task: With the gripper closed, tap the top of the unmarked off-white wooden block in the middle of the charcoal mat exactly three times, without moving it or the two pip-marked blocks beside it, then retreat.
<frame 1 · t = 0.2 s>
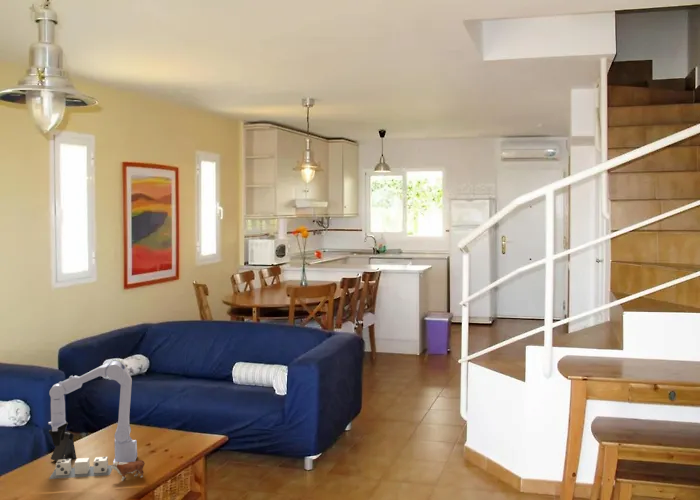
hand: (58, 442, 314), 10 cm above the table, tool pointing down, fingers open, 7 cm apart
bull figurine: (128, 480, 298), on the table
birch block plain: (82, 471, 305), point 1 cm above the table, touching slate mat
slate mat: (82, 473, 305), on the table
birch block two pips: (100, 470, 306), point 1 cm above the table, touching slate mat
door stopper: (63, 459, 320), point 1 cm above the table, touching gripper
birch block three pips: (63, 472, 304), point 1 cm above the table, touching slate mat
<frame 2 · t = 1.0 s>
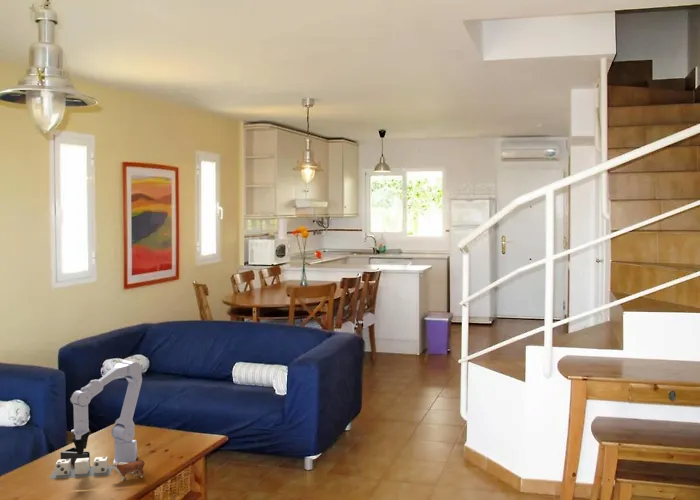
hand: (81, 451, 304), 9 cm above the table, tool pointing down, fingers open, 6 cm apart
door stopper: (68, 455, 318), point 3 cm above the table
everything else where it was.
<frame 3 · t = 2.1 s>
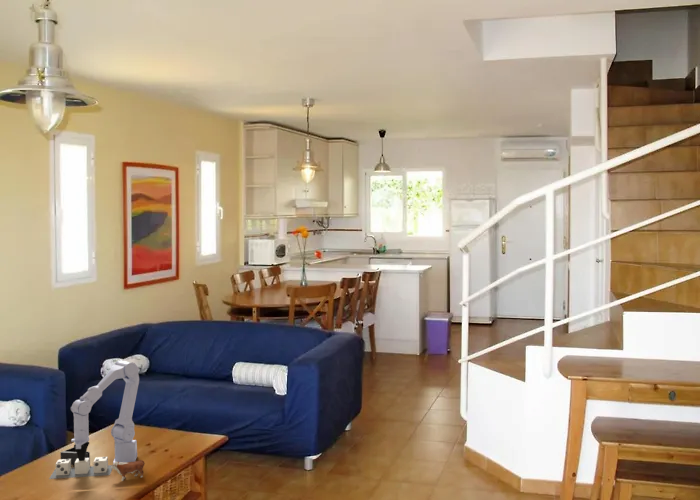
hand: (81, 460, 305), 5 cm above the table, tool pointing down, fingers closed, pressing on birch block plain
birch block plain: (82, 471, 305), point 1 cm above the table, touching gripper, slate mat
everything else where it was.
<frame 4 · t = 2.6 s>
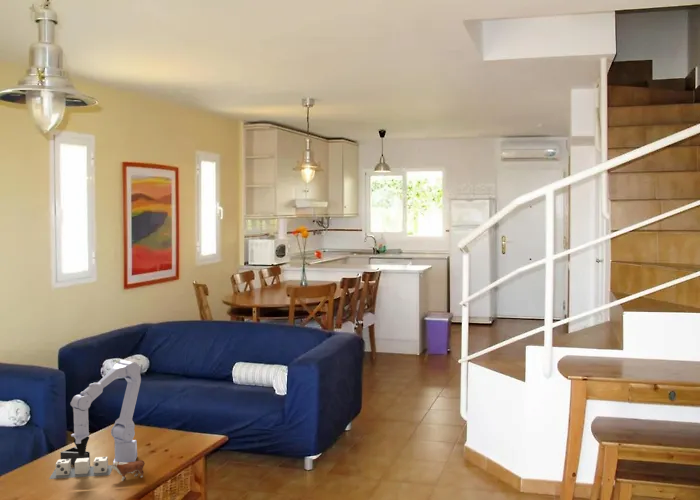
hand: (82, 455, 305), 8 cm above the table, tool pointing down, fingers closed
birch block plain: (82, 471, 305), point 1 cm above the table, touching slate mat
everything else where it was.
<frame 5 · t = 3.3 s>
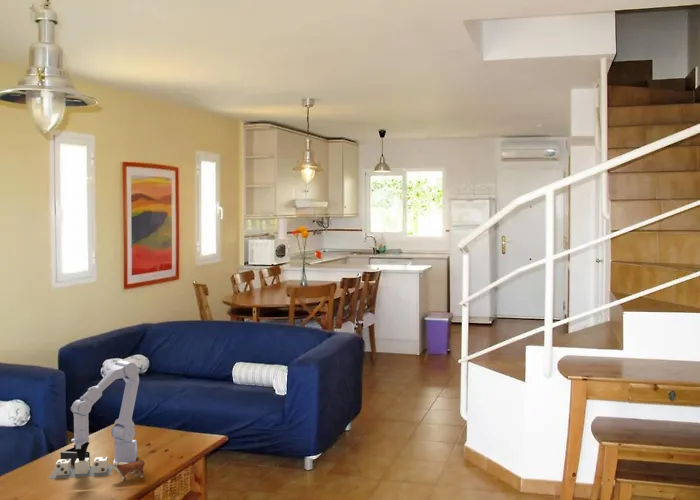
hand: (82, 460, 305), 5 cm above the table, tool pointing down, fingers closed, pressing on birch block plain
birch block plain: (82, 471, 305), point 1 cm above the table, touching gripper, slate mat
everything else where it was.
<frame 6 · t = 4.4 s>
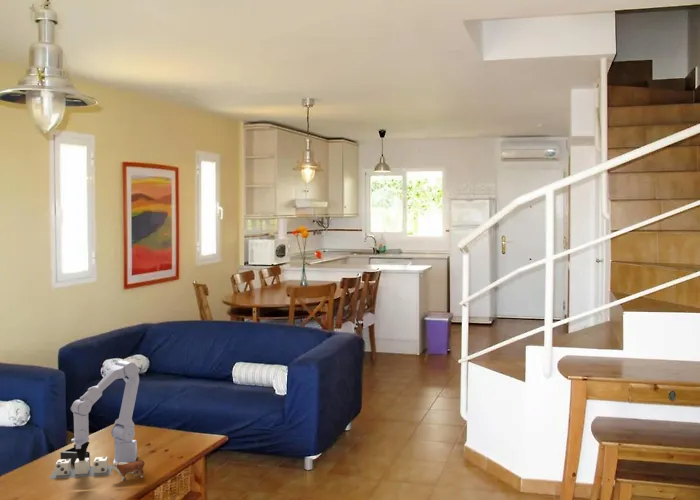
hand: (82, 460, 305), 6 cm above the table, tool pointing down, fingers closed, pressing on birch block plain
birch block plain: (82, 471, 305), point 1 cm above the table, touching gripper, slate mat
everything else where it was.
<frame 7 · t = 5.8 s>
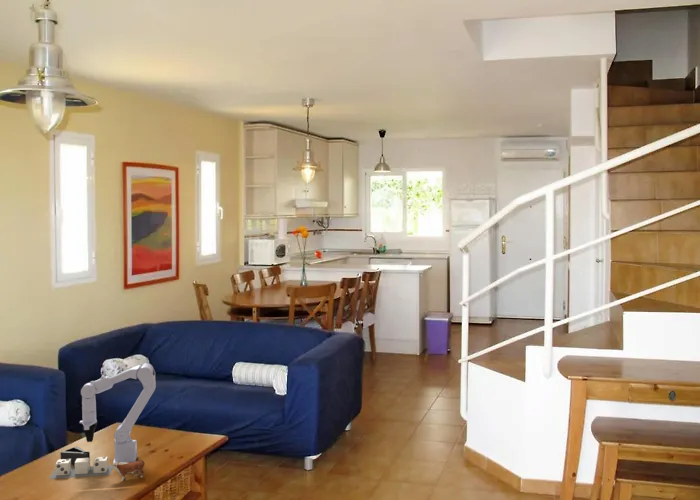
hand: (89, 441, 317), 9 cm above the table, tool pointing down, fingers closed
birch block plain: (82, 471, 305), point 1 cm above the table, touching slate mat
everything else where it was.
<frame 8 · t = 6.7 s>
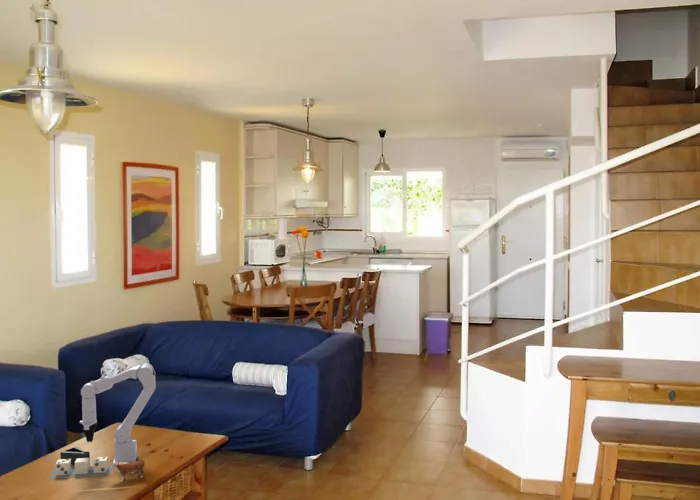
hand: (89, 441, 317), 9 cm above the table, tool pointing down, fingers closed
nothing on the table moved.
at the end: birch block plain moved 0.0 cm from its start; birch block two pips moved 0.0 cm from its start; birch block three pips moved 0.0 cm from its start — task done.
